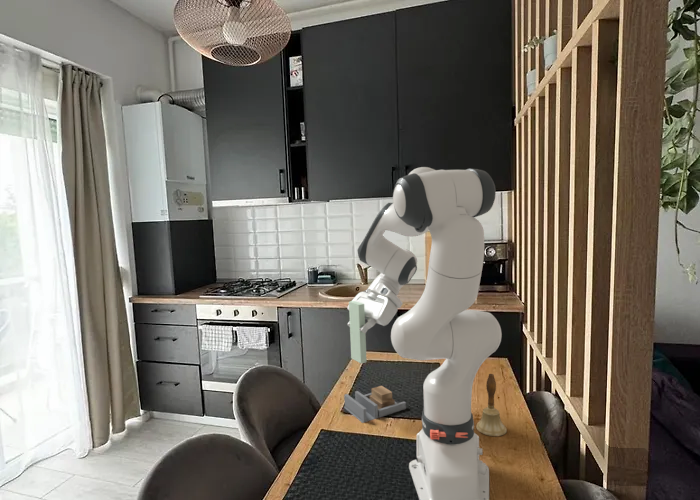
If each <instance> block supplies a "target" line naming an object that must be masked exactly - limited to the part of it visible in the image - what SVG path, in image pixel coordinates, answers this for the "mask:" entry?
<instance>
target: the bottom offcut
mask: <svg viewBox="0 0 700 500" xmlns="http://www.w3.org/2000/svg"><path fill="white" fill-rule="evenodd" d="M370 400H371V401H373V402H374V403H375V404H377V405H378V409H381V408H384V407H387V406H391V405H394V404H395V402H396V401H395V399H393V398H392V400H390V401H387V402H384V403H381V402H380V401H378V400H377V399H375V398H374V397H372V395H371V396H370Z"/></svg>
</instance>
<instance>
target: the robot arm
mask: <svg viewBox="0 0 700 500" xmlns="http://www.w3.org/2000/svg"><path fill="white" fill-rule="evenodd" d="M495 199H496V185H495V182H494V180H493V178H492V176H491V175H490V174H489V173H488V172H487V171H485V170H483V169H478V168H467V169H435V168H431V167H428V166H421V167H417V168H414V169H413V170H411V171H410V172H409V173H408V174H406V175H404V176H402V177H400V178H399V179H397V180H396V183H395V184H394V188H393V192H392V202H388V203H386V204H385V205H384V206H383V207H382V208H381V209H380V210H379V212H378V214H377V215H376V217H375V218H374V220H372V221H373V222H372V224H371V225H370V227H369V228H368V231H367V233H366V235H365V236H364V238H363V239H362V240H361V241H360V243H359V245H358V248H357V256H358V260H359V261H360V262H362V263H364V264H365V265H367V266H370V267H371V268H372V269H374V270H376V271H377V272H378V273H379V274H378V275H377V276H375V278H374V279H373V281H372V282H371V283H370V285H369V286H368V288H367V289H365V290H363V291H360V292H358V293H357V294H356V295H355V296H354V297H353V298H352V300H351V301H356V302H360V303H363V304H364V310H365V320H367V322H365V324H364V325H362V326H361V328H360V329H359V330H360V331H361V332H362V333H365V334H367V332H368V331H369V330H370V329H371V328H373V327H374V326H375V325H376V324H378V325H381V326H383V327H385V326H387V325H389V323H390V322H391V321H392V320H393V319H394V317H395V315H397V312H398V310H399V309H401V307H402V306H403V304H404V302H402V300H401V299H400V298H399V297H398V295H399V293H400V290H401V289H402V288H403V286H406V285H408V284H409V283H410V281H411V279H412V278H413V277H414V275H415V274H416V272H417V271H418V265H417V264H418V258H417V257H416V255H415V254H414V253H413V252H412V251H410V250H408V249H406V248H401V247H400V246H398V245H397V244H395V243H393V242H391V241H390V240H389V239H387V238H386V237H385V236H384V233H385V231H390V232H393V233H396V234H399V235H401V236H405V237H418V236H422V235H424V234H426V233H427V232H429V233H430V237H431V247H430V252H429V259H428V267H427V277H426V281H425V286H424V290H423V292H422V294H421V297H420V298H419V299H418V301H417V302H416V303H415V304H414V305H413V306H412V307H411V308H410V309H409V310H408V311H407V312H405V313H403V314H402V315H400V316H397V318H396V320H394V323H393V325H392V327H391V331H390V341H391V345H392V347H393V349H394V350H395V352H396V353H397V354H398V356H400V357H401V358H403V359H409V360H410V359H411V360H415V361H416V360H417V361H429V360H431V361H432V360H444V359H445V360H444V361H443V363H442V364H441V365H440V366H439V367H437V368H436V369H434V370H433V371H431V372H430V373H428V375H427V376H426V377H425V379H424V381H423V385H422V386H423V389H422V390H423V409H422V413H421V425H422V426H421V427H422V429H421V430H420V431H419V432H418V433H416V459H413V460H411V461H410V462H409V463H408V469H409V472H410V475H411V478H412V481H413V485H414V487H415V491H416V493H417V496H418V500H490V469H489V466H488V465H487V463H486V462H483V460H480V456H483V448H480V437H479V435H478V434H477V433H475V428H474V427H475V423H474V422H475V421H474V415H473V413H472V393H473V386H474V381H475V378H476V375H477V373H478V371H479V369H480V368H481V366H482V364H483V363H484V362H485V361H486V360H487V359H488V358H489V357H490V356H491V355H492V354H493V353H495V352H496V351H497V350H498V348H499V346H500V345H501V342H502V337H503V336H502V335H503V334H502V328H501V325H500V323H499V321H498V320H497V318H496V317H495V315H493V314H492V313H491V312H487V311H482V310H477V309H469V308H471V307H472V306H473V305H474V303H475V302H476V300H477V298H478V295H479V290H480V283H481V277H482V273H483V272H482V271H483V266H484V259H485V232H484V231H485V230H484V227H483V225H482V223H481V222H480V221H479V220H478V218H477V217H480V216H482V215H485V214H487V213H488V212H490V211H491V209H492V208H493V206H494V203H495ZM347 310H348V311H349V304H348V305H347ZM347 326H348V327H349V328H350V320H349V321H348V322H347Z"/></svg>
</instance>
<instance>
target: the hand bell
mask: <svg viewBox="0 0 700 500" xmlns="http://www.w3.org/2000/svg"><path fill="white" fill-rule="evenodd" d="M485 387H486V391H487V392H486V393H487V396H488V397H487V399H488V400H487V407H484V408H483V409H482V415H481V419H480V420H479V421H478V422H477V423H476V425H475V429H476V430H477V431H478V432H480V433H481V434H483V435H486V436H488V437H502V436H503V435H505V434H507V430H508V429H507V427H506V425H505V424H504V423H503V422H502V419H501V416H500V410H498V409H497V408H495V394H496V391H497V382H496V378H495V376H494V374H493V373H489V374H488V377H487V379H486V386H485Z"/></svg>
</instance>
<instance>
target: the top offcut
mask: <svg viewBox="0 0 700 500" xmlns="http://www.w3.org/2000/svg"><path fill="white" fill-rule="evenodd" d="M370 389H371V393H372V397H374V398H375V399H377V400H378V401H380V402H381V403H384V402H387V401H390V400H392V399H393V392H392V391H391V390H389V389H388V388H386V387H384V386H383V385H379V386H376V387H372V388H370Z"/></svg>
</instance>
